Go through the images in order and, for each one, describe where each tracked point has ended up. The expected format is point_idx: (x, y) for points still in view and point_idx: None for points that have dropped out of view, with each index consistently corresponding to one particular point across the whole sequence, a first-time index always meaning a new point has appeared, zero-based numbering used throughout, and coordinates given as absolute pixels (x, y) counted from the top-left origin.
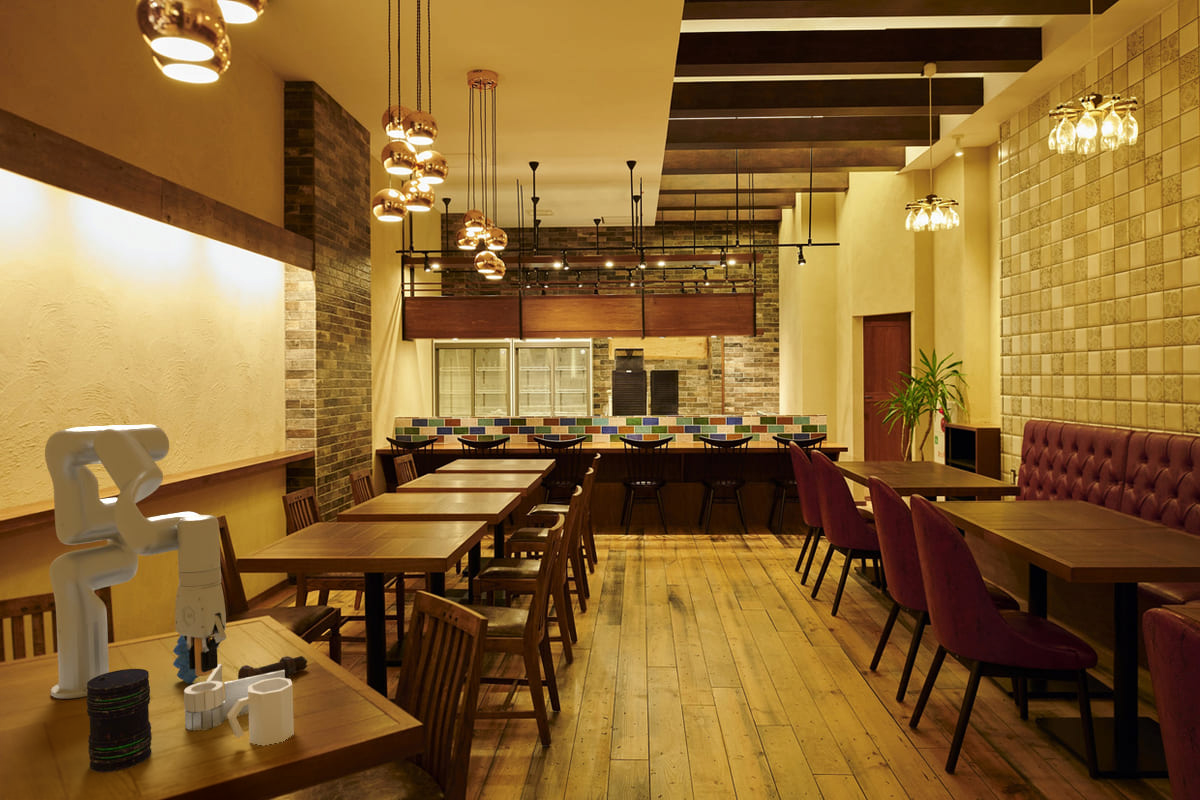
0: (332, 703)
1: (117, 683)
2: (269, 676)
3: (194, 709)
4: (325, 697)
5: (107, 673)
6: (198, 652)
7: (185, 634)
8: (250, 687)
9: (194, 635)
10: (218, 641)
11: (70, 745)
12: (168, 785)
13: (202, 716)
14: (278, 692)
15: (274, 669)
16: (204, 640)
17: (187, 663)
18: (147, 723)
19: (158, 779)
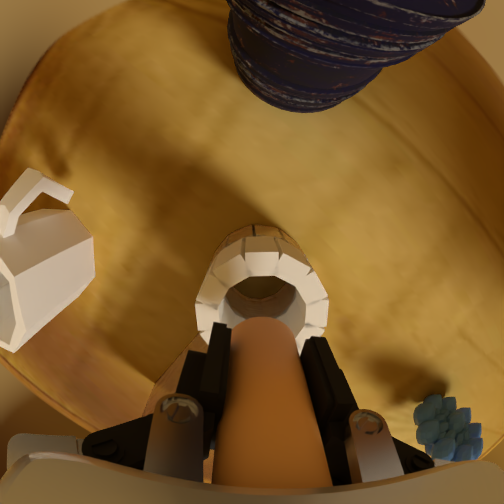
0: (87, 393)
1: None
2: None
3: (246, 239)
4: (119, 413)
5: None
6: (257, 398)
7: (385, 488)
8: (3, 269)
9: (210, 502)
10: (42, 435)
11: (457, 109)
12: (100, 24)
13: (225, 243)
14: None
15: None
16: (161, 466)
17: (445, 418)
18: (243, 45)
19: (134, 25)
